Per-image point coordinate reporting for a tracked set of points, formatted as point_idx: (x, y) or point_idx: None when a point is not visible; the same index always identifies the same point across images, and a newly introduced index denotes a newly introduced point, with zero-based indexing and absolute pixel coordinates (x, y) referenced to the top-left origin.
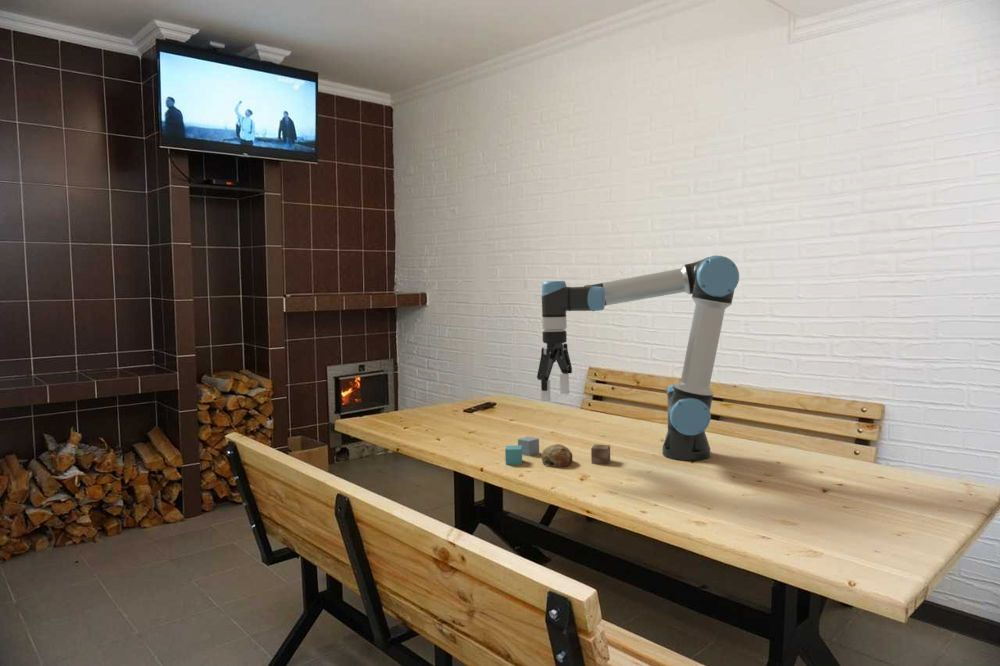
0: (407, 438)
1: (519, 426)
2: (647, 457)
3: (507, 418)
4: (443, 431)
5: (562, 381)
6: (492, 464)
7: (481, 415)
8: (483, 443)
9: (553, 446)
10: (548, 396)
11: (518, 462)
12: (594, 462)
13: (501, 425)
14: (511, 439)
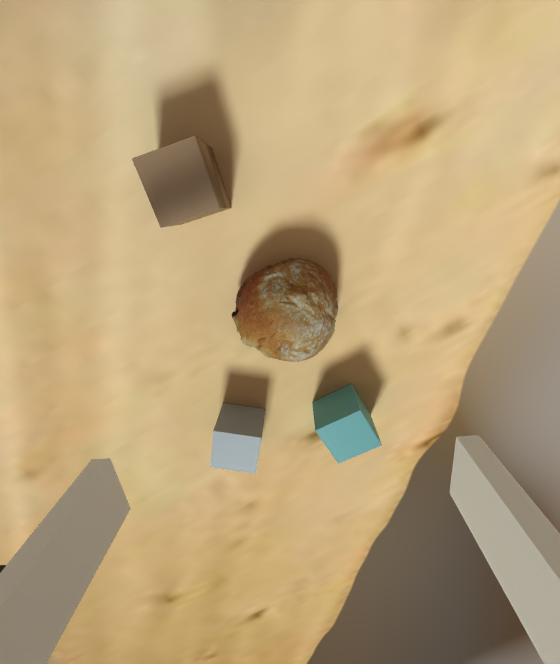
0: (285, 651)
1: None
2: (30, 42)
3: None
4: (199, 634)
5: (54, 614)
6: (383, 440)
7: None
8: (230, 541)
9: (307, 329)
10: (506, 475)
11: (355, 392)
12: (226, 197)
13: None
14: (159, 514)
